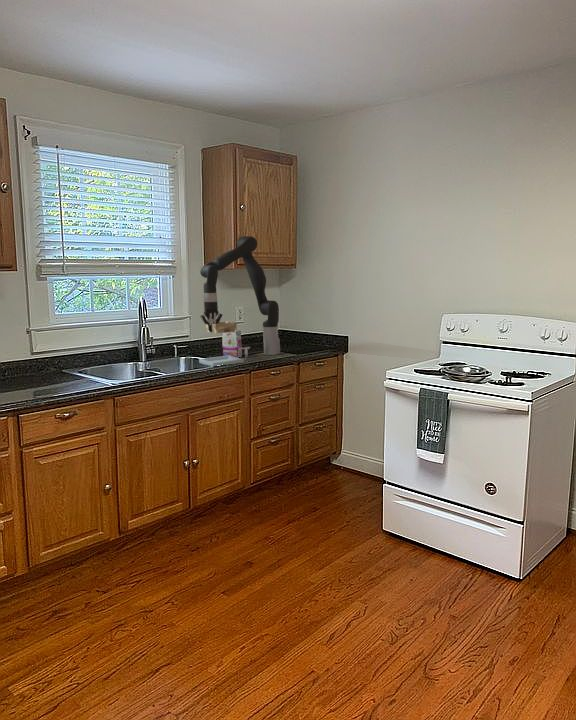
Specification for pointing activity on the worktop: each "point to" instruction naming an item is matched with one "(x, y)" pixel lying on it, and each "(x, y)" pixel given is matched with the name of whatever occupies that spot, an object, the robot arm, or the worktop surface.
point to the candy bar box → (232, 344)
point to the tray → (220, 360)
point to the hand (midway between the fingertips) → (212, 331)
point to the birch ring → (223, 327)
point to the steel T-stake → (246, 352)
